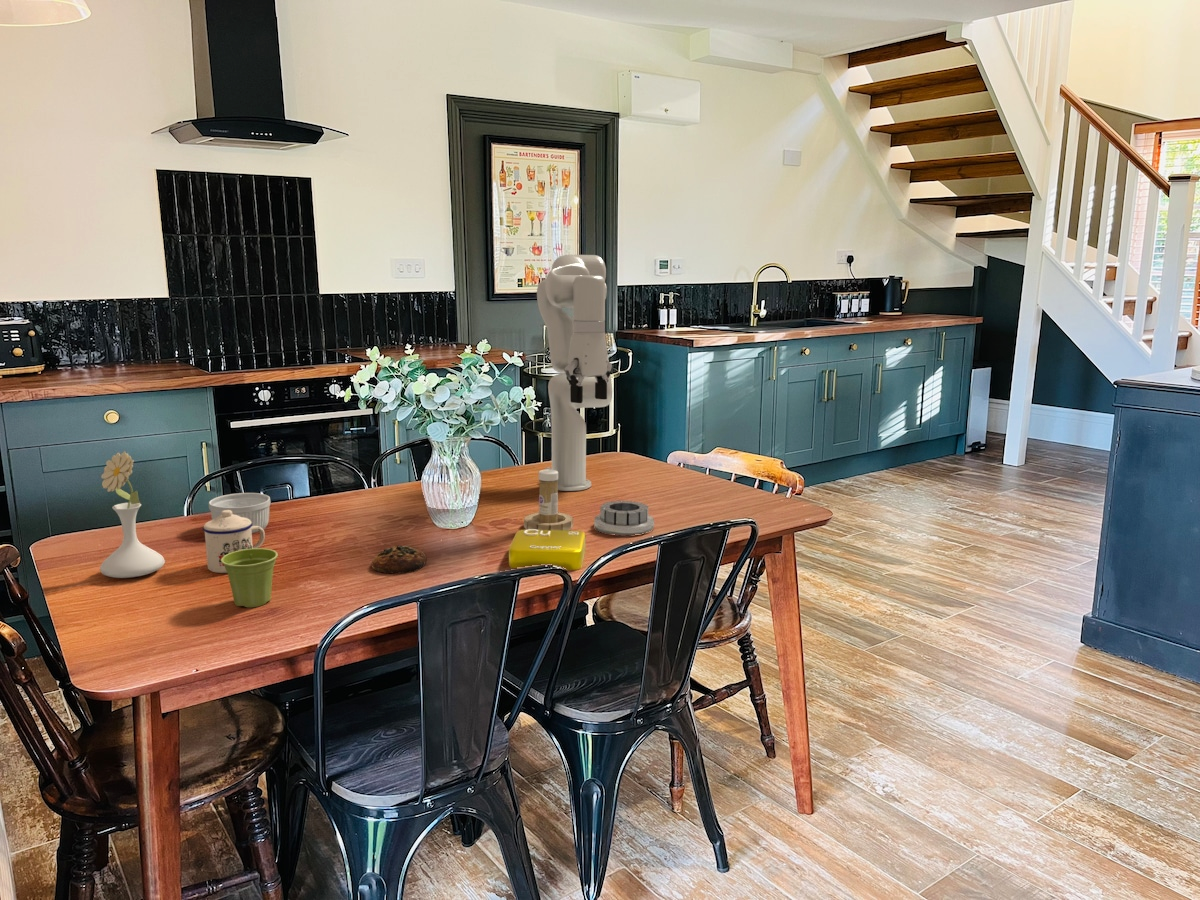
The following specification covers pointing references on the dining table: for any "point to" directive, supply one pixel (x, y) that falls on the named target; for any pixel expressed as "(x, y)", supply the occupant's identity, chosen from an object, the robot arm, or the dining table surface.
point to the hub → (623, 518)
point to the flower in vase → (127, 526)
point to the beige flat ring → (533, 523)
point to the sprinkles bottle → (548, 496)
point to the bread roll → (399, 560)
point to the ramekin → (243, 507)
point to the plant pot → (250, 575)
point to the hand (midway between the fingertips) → (589, 400)
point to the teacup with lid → (228, 538)
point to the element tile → (547, 548)
